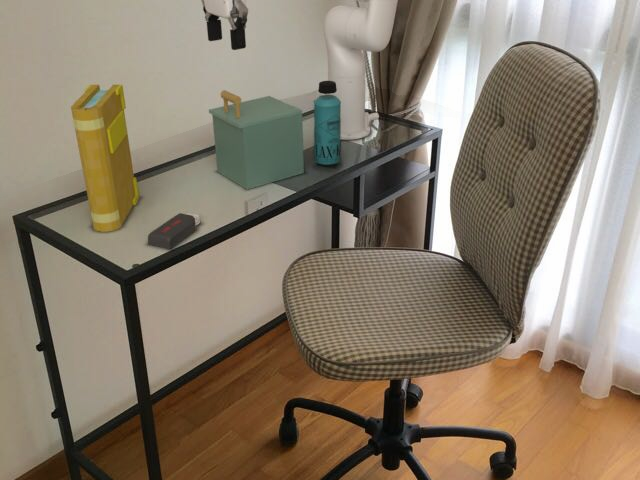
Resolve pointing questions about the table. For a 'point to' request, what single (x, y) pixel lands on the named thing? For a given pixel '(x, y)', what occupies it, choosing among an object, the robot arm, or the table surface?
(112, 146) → the book
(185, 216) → the usb drive
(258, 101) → the bin lid
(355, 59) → the robot arm
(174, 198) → the table surface
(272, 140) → the bin
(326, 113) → the beverage bottle
